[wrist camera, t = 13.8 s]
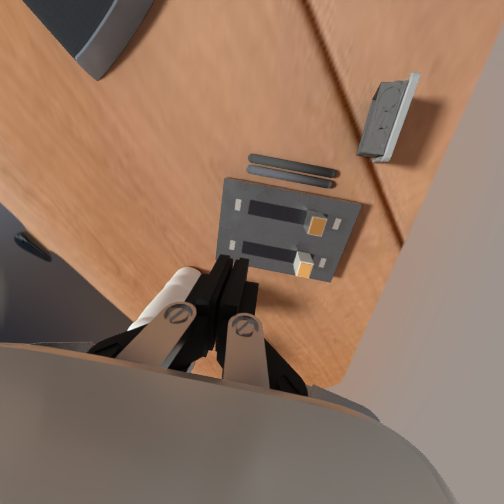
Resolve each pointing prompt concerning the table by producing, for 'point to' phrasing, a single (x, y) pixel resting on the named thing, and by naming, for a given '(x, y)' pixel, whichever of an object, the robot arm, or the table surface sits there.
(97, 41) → the external hard drive
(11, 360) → the robot arm
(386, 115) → the electrical switch
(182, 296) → the water bottle
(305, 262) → the lever
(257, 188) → the slider control panel
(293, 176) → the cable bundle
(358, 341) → the table surface
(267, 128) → the table surface
